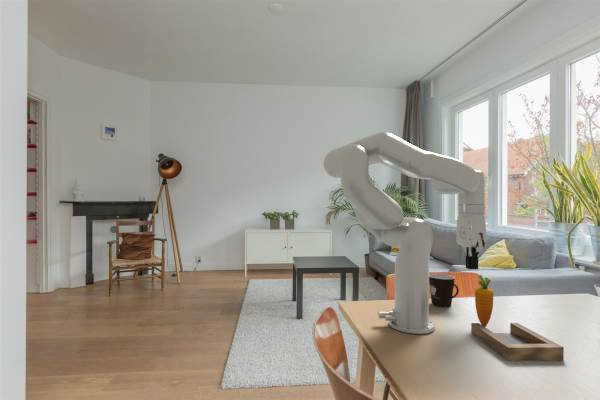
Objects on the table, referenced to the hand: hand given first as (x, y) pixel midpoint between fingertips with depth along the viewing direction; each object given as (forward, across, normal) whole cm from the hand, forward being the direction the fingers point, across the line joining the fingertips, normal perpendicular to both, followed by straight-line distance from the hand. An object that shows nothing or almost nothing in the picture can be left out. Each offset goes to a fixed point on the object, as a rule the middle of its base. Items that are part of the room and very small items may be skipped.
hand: (471, 268), depth 108 cm
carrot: (+16, +8, -1) cm, 18 cm away
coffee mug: (+16, -13, -4) cm, 21 cm away
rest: (+15, +21, -1) cm, 26 cm away
